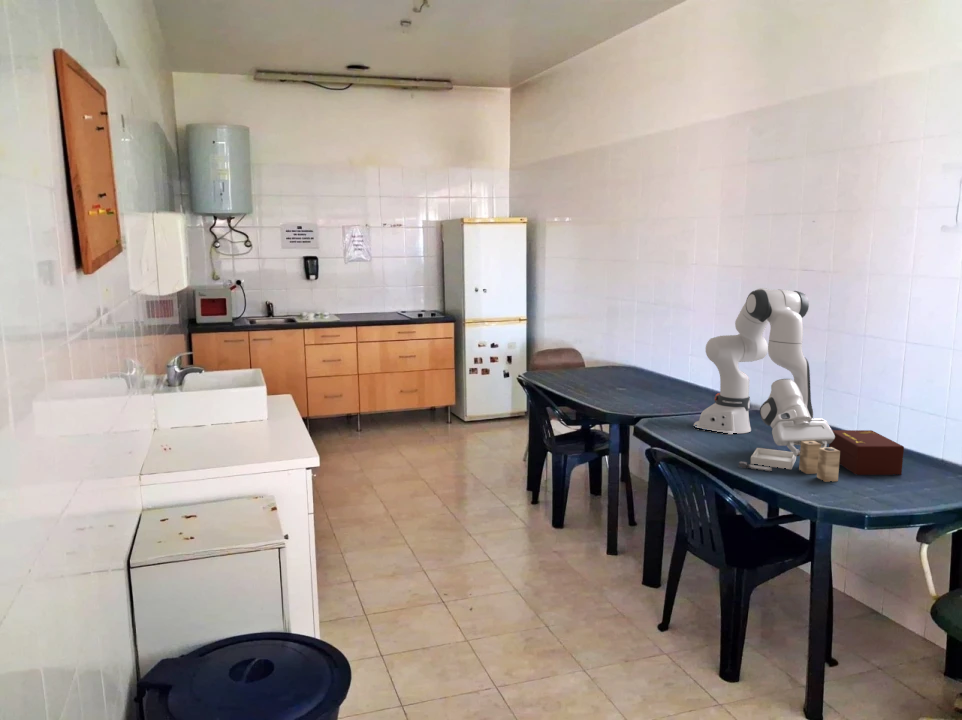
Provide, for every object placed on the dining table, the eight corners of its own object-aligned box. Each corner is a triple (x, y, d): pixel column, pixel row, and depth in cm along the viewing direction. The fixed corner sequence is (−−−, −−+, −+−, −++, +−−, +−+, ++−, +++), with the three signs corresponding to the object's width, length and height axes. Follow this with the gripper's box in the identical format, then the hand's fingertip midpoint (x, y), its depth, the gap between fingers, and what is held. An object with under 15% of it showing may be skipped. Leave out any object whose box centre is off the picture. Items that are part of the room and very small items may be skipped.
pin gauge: (738, 467, 249) (738, 462, 249) (739, 466, 251) (739, 461, 251) (771, 472, 244) (771, 467, 244) (771, 470, 246) (772, 465, 246)
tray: (750, 463, 254) (750, 457, 253) (756, 454, 265) (757, 447, 265) (791, 469, 247) (791, 462, 247) (796, 459, 259) (796, 452, 258)
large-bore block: (816, 477, 239) (818, 447, 237) (829, 476, 240) (831, 447, 238) (824, 481, 235) (827, 451, 233) (837, 481, 235) (840, 451, 234)
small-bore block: (799, 469, 247) (800, 440, 245) (811, 469, 248) (813, 440, 246) (806, 473, 243) (808, 444, 241) (819, 473, 243) (821, 444, 242)
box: (906, 475, 241) (909, 446, 240) (856, 475, 242) (858, 446, 240) (873, 456, 262) (876, 429, 260) (827, 456, 262) (829, 429, 261)
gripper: (821, 423, 255) (835, 458, 247) (765, 425, 253) (778, 460, 245) (829, 413, 250) (844, 448, 242) (773, 415, 248) (786, 451, 240)
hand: (811, 454), depth 244 cm, fingers open, 8 cm apart
